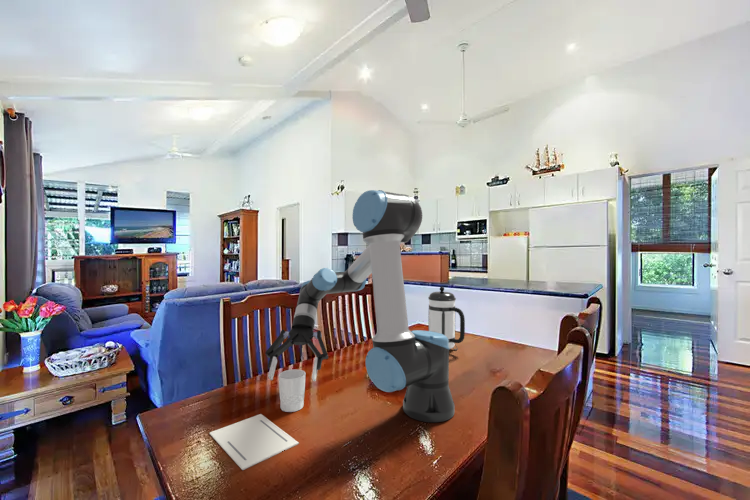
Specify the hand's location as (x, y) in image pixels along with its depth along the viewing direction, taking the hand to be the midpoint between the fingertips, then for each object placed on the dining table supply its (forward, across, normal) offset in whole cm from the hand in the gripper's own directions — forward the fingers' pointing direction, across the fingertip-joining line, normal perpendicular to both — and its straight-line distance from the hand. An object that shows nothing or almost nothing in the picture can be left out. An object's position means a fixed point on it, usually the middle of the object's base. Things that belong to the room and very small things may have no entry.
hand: (291, 378), depth 104 cm
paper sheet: (+19, +4, +8) cm, 21 cm away
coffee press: (-35, -56, -47) cm, 81 cm away
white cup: (+7, -1, -4) cm, 8 cm away
